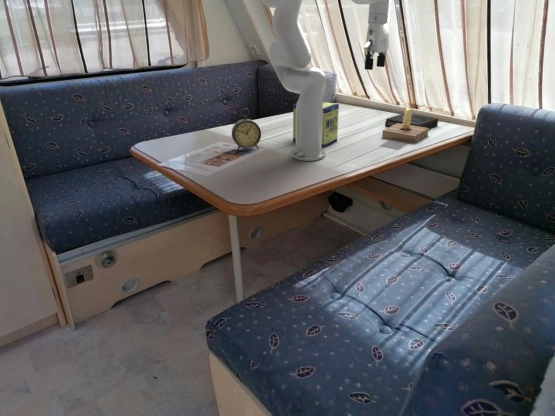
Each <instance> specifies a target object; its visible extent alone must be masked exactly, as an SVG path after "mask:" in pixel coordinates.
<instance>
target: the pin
mask: <svg viewBox="0 0 555 416" xmlns="http://www.w3.org/2000/svg"><path fill="white" fill-rule="evenodd" d="M403 110H404V111H403V114H404V117H403V126H402V130H405V131H409V130H410V122H411V115H412V114H413V108H410V107H405V108H404V109H403Z"/></svg>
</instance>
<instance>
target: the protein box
mask: <svg viewBox="0 0 555 416" xmlns="http://www.w3.org/2000/svg"><path fill="white" fill-rule="evenodd" d="M296 105H297V103H294V104H293V105H292V106H293V108H292V109H293V110H292V114H293V115H292V117H293V119H292V124H293V125H292V129H293V131H292V132H293V133H292V142H293V143H296ZM339 111H340V104H339V103H335V102H334V103H333V102H327V101H326V102H325V101H323V112H322V146H321V149H325V148H327V147H329V146H331V145H333V143H334V144H336V143H337V142H338V132H339V131H338V130H339V129H338V128H339ZM335 142H336V143H335Z"/></svg>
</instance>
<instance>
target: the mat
mask: <svg viewBox="0 0 555 416" xmlns="http://www.w3.org/2000/svg"><path fill="white" fill-rule="evenodd" d="M409 144H410V143H407V142H401V141H396V140H391V139H388V141H386V142H384V143H382V144H380V145H379V147H381V148H385V149H386V148H387V149H391V150H396V151H398V150H400V149H402V148H403V147H406V146H408V145H409Z"/></svg>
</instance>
